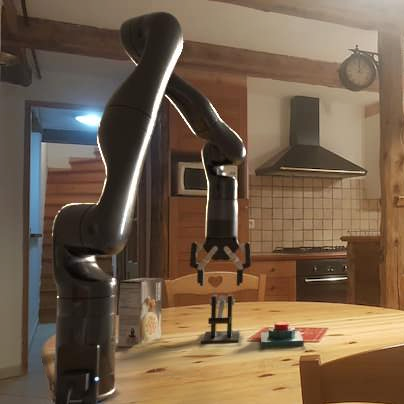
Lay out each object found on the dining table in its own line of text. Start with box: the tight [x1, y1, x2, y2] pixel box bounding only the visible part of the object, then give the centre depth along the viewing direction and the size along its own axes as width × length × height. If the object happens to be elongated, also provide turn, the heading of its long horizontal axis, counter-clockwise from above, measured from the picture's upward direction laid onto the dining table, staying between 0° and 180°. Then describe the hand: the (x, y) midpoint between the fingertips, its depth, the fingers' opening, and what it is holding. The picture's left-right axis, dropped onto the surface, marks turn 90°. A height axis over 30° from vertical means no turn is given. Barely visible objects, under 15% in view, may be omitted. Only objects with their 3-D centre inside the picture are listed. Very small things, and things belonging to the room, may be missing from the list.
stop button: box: [273, 321, 290, 331], centre depth 130 cm, size 4×4×2 cm
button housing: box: [260, 326, 305, 349], centre depth 130 cm, size 12×10×4 cm
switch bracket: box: [200, 293, 241, 344], centre depth 134 cm, size 12×9×12 cm
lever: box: [207, 295, 230, 325], centre depth 130 cm, size 12×5×2 cm, turn 11°
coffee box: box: [117, 277, 163, 348], centre depth 131 cm, size 9×6×16 cm
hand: (220, 285), depth 126 cm, fingers open, 8 cm apart
